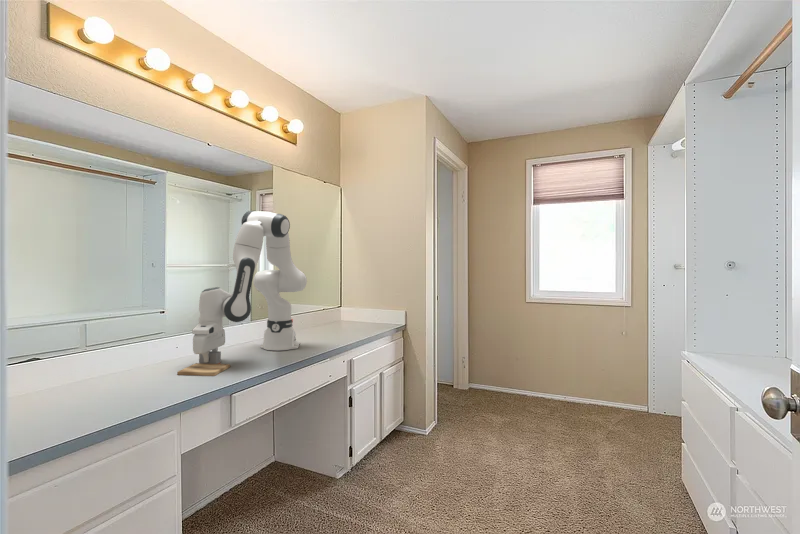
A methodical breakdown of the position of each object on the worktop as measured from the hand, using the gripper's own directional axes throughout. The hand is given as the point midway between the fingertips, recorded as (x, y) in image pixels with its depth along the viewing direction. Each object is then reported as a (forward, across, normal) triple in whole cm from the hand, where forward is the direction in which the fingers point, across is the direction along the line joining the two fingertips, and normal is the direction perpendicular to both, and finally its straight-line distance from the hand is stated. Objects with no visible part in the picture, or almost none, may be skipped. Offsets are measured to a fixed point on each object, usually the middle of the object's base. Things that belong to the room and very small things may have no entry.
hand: (210, 360), depth 167 cm
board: (+2, +10, +3) cm, 11 cm away
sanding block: (+2, 0, 0) cm, 2 cm away
